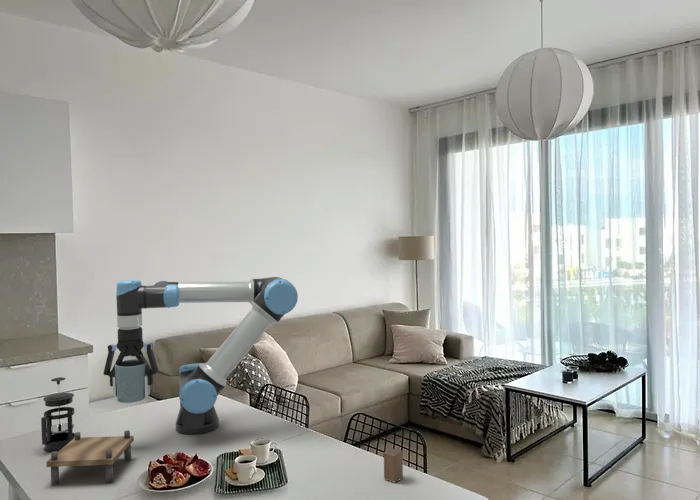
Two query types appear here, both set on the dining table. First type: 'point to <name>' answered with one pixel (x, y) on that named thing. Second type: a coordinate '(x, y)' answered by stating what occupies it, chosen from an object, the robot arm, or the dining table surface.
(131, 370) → the teal plant pot
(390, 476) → the wooden block
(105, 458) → the wooden board with feet
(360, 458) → the dining table surface
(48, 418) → the french press
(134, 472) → the dining table surface
